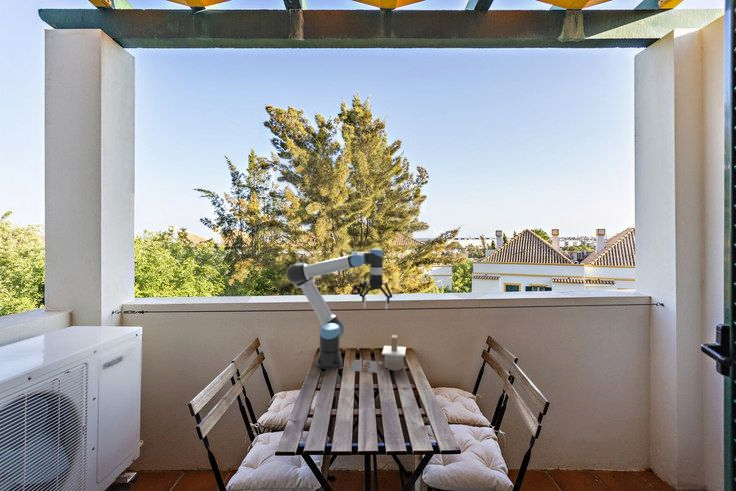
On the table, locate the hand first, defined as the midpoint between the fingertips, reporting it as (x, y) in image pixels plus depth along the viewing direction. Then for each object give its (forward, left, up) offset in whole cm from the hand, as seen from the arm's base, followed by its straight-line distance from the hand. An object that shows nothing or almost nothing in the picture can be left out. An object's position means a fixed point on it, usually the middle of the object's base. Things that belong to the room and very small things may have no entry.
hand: (375, 308), depth 229 cm
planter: (+13, -12, -32) cm, 37 cm away
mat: (-3, -14, -32) cm, 35 cm away
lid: (+13, -12, -22) cm, 28 cm away
